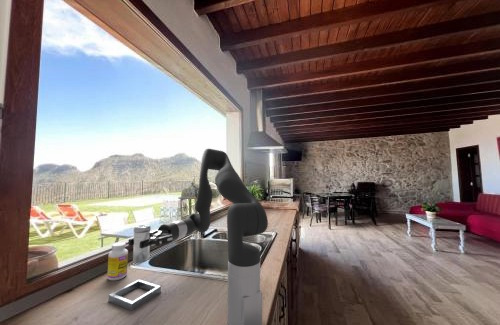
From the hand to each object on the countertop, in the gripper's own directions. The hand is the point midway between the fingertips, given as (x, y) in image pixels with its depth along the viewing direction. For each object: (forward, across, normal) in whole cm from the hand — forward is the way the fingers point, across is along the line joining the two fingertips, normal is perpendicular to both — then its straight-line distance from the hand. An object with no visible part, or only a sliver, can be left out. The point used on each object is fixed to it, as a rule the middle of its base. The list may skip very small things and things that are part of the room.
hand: (134, 243), depth 70 cm
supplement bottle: (-7, -19, +18) cm, 27 cm away
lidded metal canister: (-3, 0, +6) cm, 7 cm away
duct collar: (-1, 0, +18) cm, 18 cm away
